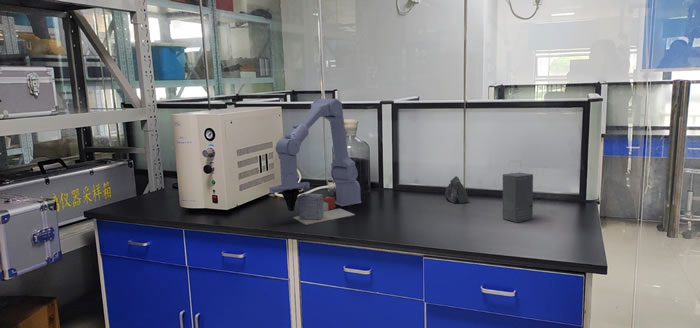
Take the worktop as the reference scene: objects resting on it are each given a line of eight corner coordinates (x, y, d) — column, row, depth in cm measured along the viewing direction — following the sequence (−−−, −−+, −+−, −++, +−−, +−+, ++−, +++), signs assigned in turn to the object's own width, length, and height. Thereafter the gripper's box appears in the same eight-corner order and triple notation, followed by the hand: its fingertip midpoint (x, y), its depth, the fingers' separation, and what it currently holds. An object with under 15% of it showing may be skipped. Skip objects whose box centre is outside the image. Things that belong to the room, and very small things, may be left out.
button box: (319, 206, 196) (318, 199, 195) (328, 210, 189) (328, 203, 188) (300, 210, 192) (300, 202, 191) (309, 214, 185) (309, 206, 184)
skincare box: (515, 223, 164) (516, 176, 162) (500, 218, 171) (501, 173, 168) (534, 219, 168) (535, 173, 165) (518, 214, 174) (519, 170, 172)
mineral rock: (447, 195, 206) (446, 172, 205) (472, 197, 202) (473, 173, 200) (439, 202, 195) (438, 178, 193) (466, 204, 190) (466, 179, 189)
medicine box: (324, 217, 180) (323, 193, 178) (319, 220, 175) (318, 196, 174) (304, 215, 182) (303, 193, 181) (299, 219, 178) (297, 195, 177)
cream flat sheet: (340, 209, 191) (340, 208, 191) (354, 215, 182) (354, 214, 182) (292, 217, 181) (292, 217, 181) (305, 224, 172) (305, 224, 172)
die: (329, 206, 196) (328, 195, 195) (335, 207, 193) (334, 196, 192) (321, 208, 194) (320, 197, 193) (327, 209, 191) (326, 198, 190)
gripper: (303, 168, 179) (304, 205, 181) (265, 173, 172) (267, 211, 174) (311, 171, 173) (313, 208, 175) (272, 176, 166) (275, 215, 168)
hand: (291, 210), depth 174 cm, fingers closed
